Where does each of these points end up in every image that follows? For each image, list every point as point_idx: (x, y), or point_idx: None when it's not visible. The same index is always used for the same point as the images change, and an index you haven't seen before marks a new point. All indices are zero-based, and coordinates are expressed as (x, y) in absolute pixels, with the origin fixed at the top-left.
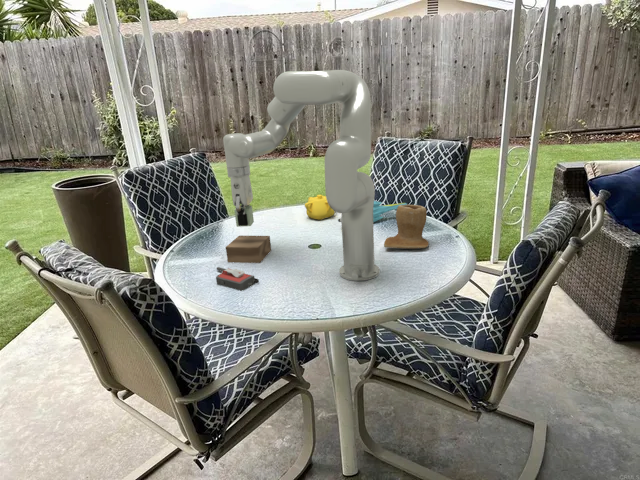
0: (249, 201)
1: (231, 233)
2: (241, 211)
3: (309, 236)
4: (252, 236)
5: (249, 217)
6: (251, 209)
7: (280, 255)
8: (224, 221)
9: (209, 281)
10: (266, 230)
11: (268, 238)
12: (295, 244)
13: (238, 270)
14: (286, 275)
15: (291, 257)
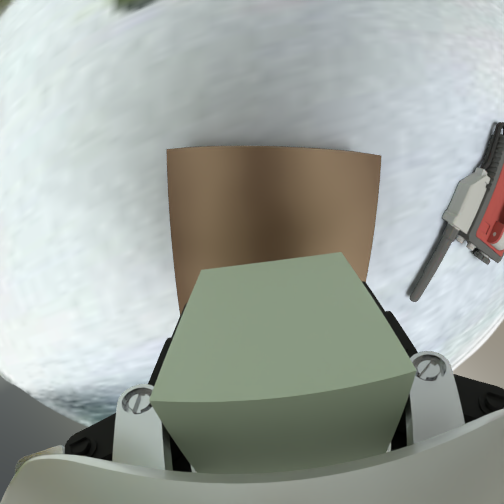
0: (420, 497)
1: (70, 363)
2: (497, 389)
3: (39, 63)
4: (187, 256)
5: (370, 298)
6: (218, 361)
7: (254, 80)
8: (25, 388)
9: (469, 282)
10: (13, 261)
11: (194, 147)
12: (114, 67)
13: (466, 208)
14: (443, 36)
15: (276, 27)
